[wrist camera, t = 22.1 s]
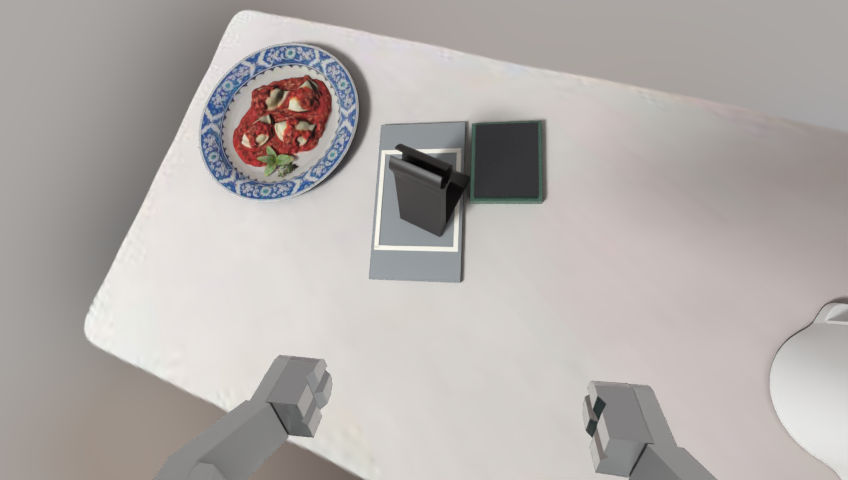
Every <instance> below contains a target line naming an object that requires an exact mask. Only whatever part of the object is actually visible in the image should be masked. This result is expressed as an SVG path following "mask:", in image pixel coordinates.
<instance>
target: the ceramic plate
mask: <svg viewBox="0 0 848 480" xmlns="http://www.w3.org/2000/svg"><path fill="white" fill-rule="evenodd" d="M358 116H359V102H358V95H357V90H356V87H355V84H354V81H353V79H352V77H351V75H350V73H349V72H348V70H347V69H346V67H345V66H344V65H343V64H342V63H341V62H340V61H339V60H338V59H337V58H336V57H335V56H333V55H332V54H331V53H329V52H327V51H325V50H323V49H321V48H319V47H316V46H313V45H308V44H302V43H284V44H277V45H273V46H269V47H266V48H263V49H261V50H259V51H256V52H254V53H252V54H250V55H248V56H246V57H245V58H244V59H242V60H241V61H239V62H238V63H237V64H235V65H234V66H233V67H232V68H231V69H230V70H229V71H228V72H227V73H226V74H225V75H224V76H223V77H222V78H221V79H220V81H219V82H218V83H217V84H216V86H215V87H214V89H213V91H212V92H211V94H210V96H209V98H208V100H207V102H206V104H205V107H204V109H203V112H202V115H201V119H200V125H199V150H200V154H201V158H202V161H203V163H204V166H205V168H206V170H207V172H208V173H209V175H210V176H211V177H212V179H213V180H214V181H215V182H216V183H217V184H218V185H219V186H220V187H221V188H222V189H224V190H225V191H227V192H228V193H230V194H232V195H234V196H236V197H238V198H241V199H244V200H248V201H254V202H276V201H282V200H286V199H289V198H293V197H295V196H298V195H300V194H302V193H304V192H306V191H308V190H310V189H312V188H313V187H314V186H316V185H317V184H319V183H320V182H321V181H323V180H324V179H325V178H326V177H327V176H328V175H329V174H330V173H331V172H332V171H333V170H334V169H335V168H336V167H337V166H338V164H339V163H340V162H341V160H342V159H343V157H344V156H345V154H346V153H347V151H348V149H349V147H350V145H351V142H352V140H353V138H354V135H355V132H356V128H357V123H358Z"/></svg>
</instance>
